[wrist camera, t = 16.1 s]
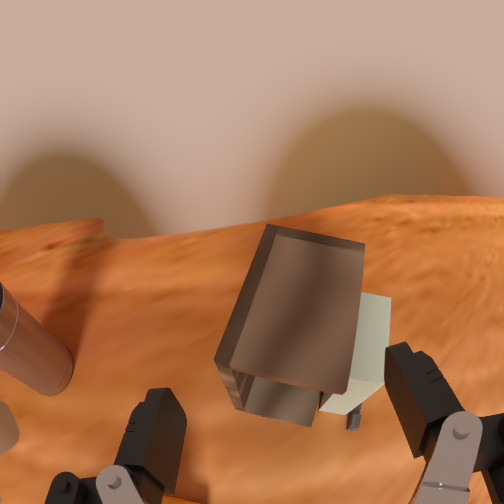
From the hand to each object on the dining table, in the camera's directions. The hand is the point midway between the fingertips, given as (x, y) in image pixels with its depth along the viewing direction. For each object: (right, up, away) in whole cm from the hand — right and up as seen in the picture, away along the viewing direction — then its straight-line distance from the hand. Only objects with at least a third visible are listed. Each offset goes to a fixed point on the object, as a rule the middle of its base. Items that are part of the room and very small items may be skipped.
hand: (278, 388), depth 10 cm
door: (+10, -12, +26) cm, 30 cm away
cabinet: (+6, -11, +27) cm, 29 cm away
